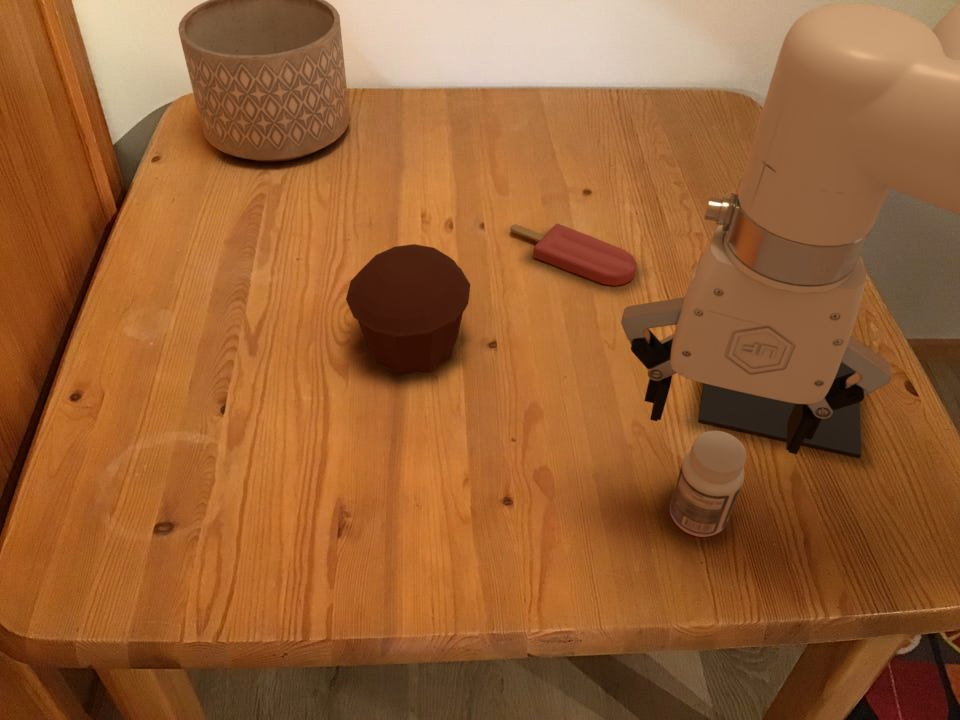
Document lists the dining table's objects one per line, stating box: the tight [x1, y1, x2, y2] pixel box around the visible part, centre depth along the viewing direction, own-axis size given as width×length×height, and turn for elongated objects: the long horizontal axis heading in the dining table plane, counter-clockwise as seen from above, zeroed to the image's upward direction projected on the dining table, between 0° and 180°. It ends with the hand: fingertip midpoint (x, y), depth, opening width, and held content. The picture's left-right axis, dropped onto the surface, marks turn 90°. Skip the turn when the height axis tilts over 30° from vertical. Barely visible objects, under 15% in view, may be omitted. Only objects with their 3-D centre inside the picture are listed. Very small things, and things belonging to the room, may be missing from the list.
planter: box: [177, 0, 351, 163], centre depth 105 cm, size 19×19×14 cm
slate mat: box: [697, 362, 862, 459], centre depth 80 cm, size 14×14×1 cm
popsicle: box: [509, 223, 637, 287], centre depth 92 cm, size 5×2×15 cm
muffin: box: [345, 243, 471, 376], centre depth 79 cm, size 12×11×10 cm
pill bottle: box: [669, 430, 747, 538], centre depth 66 cm, size 5×5×8 cm
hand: (723, 422), depth 61 cm, fingers open, 9 cm apart
